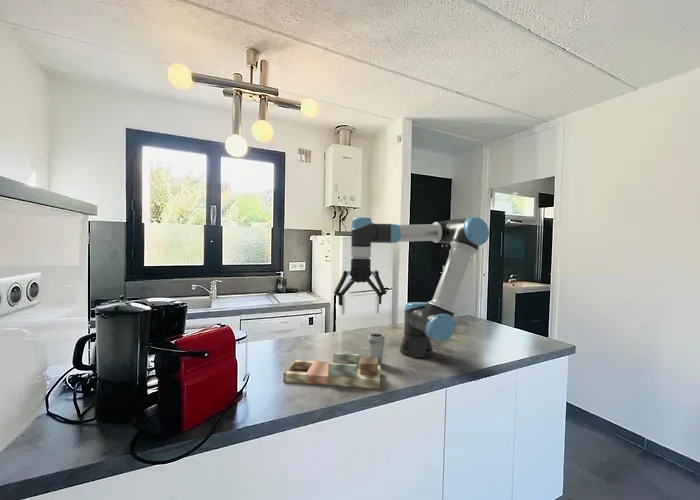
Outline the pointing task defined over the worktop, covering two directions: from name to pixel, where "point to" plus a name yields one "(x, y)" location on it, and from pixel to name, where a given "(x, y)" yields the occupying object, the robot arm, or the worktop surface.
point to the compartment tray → (332, 372)
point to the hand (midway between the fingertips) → (360, 313)
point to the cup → (376, 346)
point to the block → (368, 366)
